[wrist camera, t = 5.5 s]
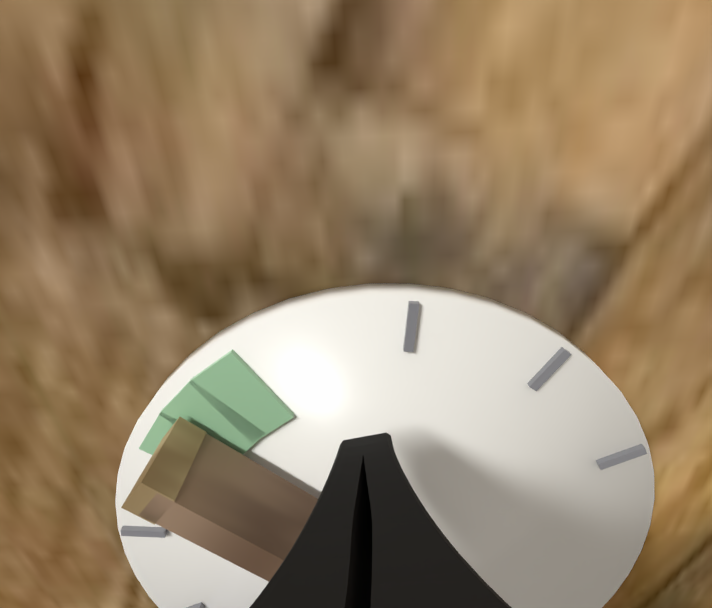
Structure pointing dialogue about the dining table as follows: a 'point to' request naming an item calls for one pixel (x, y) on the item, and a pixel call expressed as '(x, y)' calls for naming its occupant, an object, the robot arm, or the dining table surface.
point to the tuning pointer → (220, 500)
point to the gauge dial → (414, 437)
